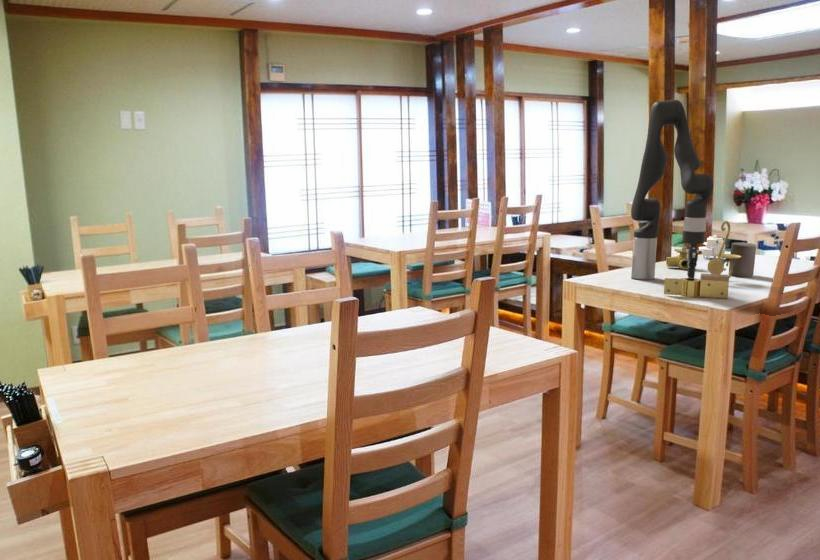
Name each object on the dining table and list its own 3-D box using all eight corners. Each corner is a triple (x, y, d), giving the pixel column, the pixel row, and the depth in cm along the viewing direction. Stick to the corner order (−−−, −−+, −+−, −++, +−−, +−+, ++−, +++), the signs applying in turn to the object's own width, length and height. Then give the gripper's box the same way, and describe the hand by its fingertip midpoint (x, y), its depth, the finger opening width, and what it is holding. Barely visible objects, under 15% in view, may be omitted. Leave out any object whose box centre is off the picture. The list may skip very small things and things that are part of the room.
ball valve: (693, 270, 300) (695, 248, 298) (669, 270, 302) (670, 248, 300) (687, 266, 312) (688, 244, 311) (663, 265, 314) (665, 244, 312)
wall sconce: (725, 285, 266) (730, 222, 261) (702, 282, 273) (707, 220, 269) (743, 281, 274) (749, 220, 269) (721, 278, 281) (726, 218, 277)
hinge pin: (695, 288, 245) (698, 256, 243) (685, 287, 247) (687, 255, 244) (695, 286, 249) (697, 254, 247) (684, 286, 250) (686, 254, 248)
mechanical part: (704, 256, 341) (706, 233, 338) (728, 259, 332) (730, 235, 329) (693, 258, 334) (695, 234, 331) (717, 261, 324) (719, 237, 322)
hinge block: (663, 295, 248) (665, 274, 246) (663, 292, 254) (664, 271, 253) (727, 299, 241) (729, 277, 240) (725, 295, 248) (727, 274, 246)
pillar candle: (724, 275, 288) (728, 240, 285) (733, 272, 294) (736, 238, 292) (748, 278, 281) (752, 243, 278) (756, 275, 288) (760, 241, 285)
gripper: (707, 232, 236) (703, 280, 239) (703, 228, 249) (700, 274, 252) (684, 231, 239) (681, 279, 242) (681, 227, 251) (678, 272, 255)
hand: (690, 276), depth 247 cm, fingers closed on hinge pin, 2 cm apart
